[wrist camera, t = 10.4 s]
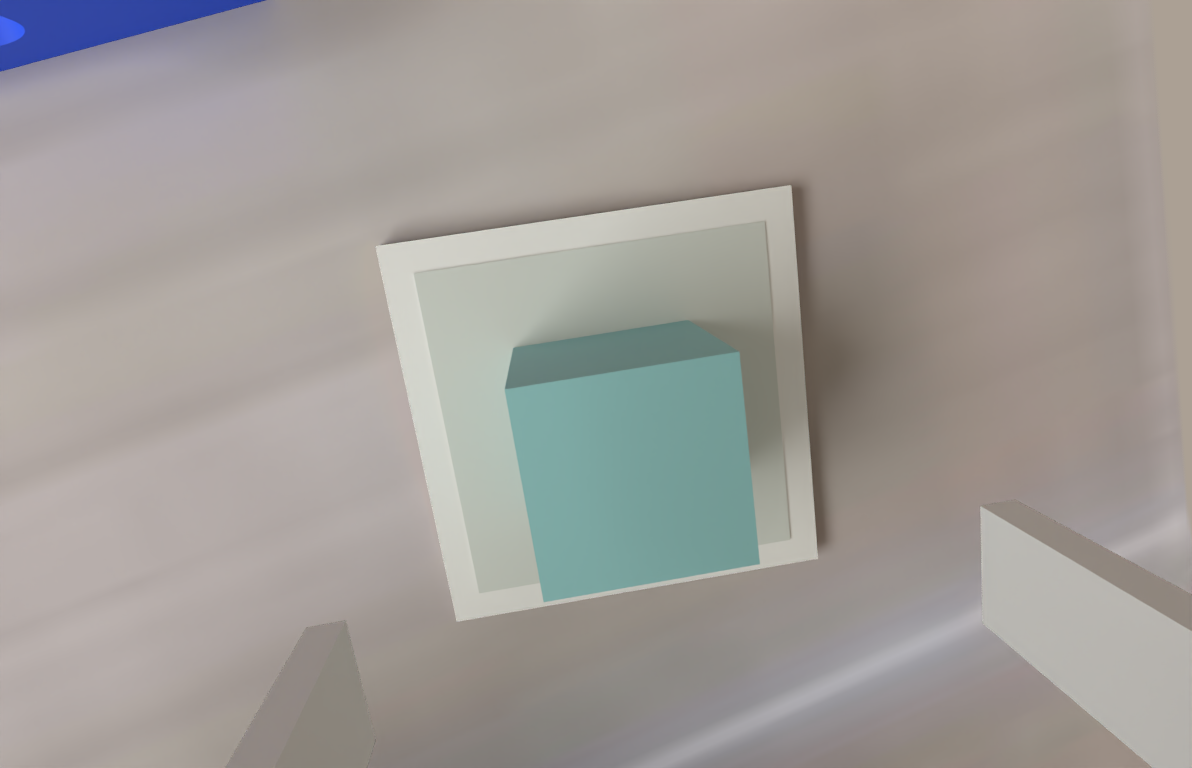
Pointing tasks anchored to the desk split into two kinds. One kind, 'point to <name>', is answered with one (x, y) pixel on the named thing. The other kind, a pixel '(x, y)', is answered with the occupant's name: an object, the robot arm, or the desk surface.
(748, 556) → the cube
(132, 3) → the bracket
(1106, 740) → the desk surface
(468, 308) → the white square tray
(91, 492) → the desk surface
